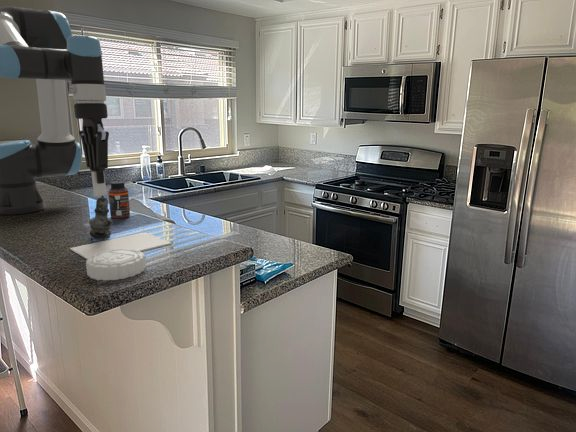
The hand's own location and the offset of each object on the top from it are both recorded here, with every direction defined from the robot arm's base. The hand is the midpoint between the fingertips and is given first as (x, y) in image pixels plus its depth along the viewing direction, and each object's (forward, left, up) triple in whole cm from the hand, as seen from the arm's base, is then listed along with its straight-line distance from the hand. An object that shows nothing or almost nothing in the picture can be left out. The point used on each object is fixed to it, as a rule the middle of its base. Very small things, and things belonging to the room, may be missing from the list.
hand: (100, 195), depth 116 cm
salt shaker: (-3, 0, -11) cm, 12 cm away
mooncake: (+25, -8, -12) cm, 29 cm away
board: (+10, 0, -12) cm, 15 cm away
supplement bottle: (-21, +14, -12) cm, 28 cm away
